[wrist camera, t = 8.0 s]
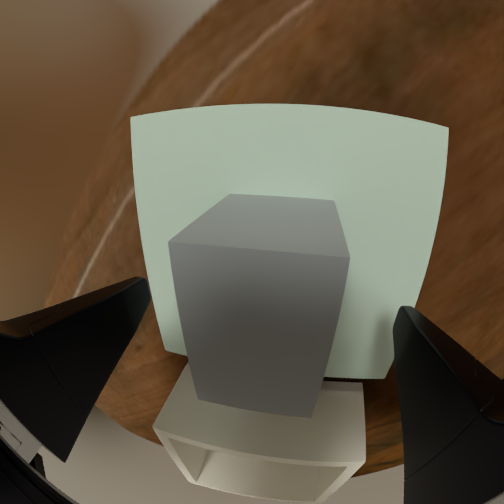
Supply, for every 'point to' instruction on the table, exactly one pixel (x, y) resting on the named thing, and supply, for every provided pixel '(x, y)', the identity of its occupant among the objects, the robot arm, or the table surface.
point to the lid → (284, 242)
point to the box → (266, 443)
